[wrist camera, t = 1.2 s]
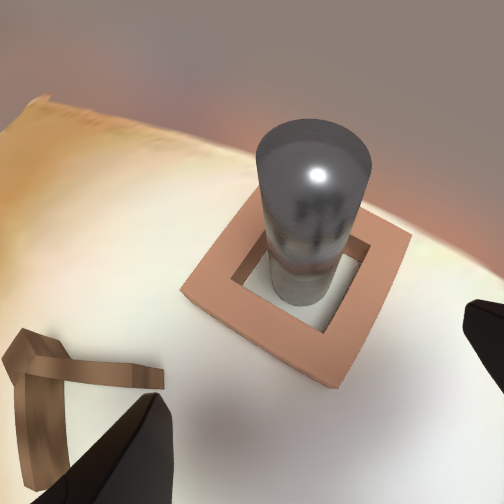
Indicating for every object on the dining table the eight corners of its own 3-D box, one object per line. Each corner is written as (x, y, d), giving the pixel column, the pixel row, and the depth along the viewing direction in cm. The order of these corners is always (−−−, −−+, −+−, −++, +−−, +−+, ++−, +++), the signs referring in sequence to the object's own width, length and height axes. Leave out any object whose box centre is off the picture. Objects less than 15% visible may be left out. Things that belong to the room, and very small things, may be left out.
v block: (173, 379, 20) (143, 376, 15) (67, 487, 16) (31, 496, 11) (98, 293, 23) (65, 272, 19) (13, 403, 19) (-23, 398, 15)
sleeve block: (399, 252, 22) (412, 234, 19) (330, 388, 19) (337, 388, 16) (274, 189, 26) (273, 167, 23) (191, 302, 22) (179, 290, 20)
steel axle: (328, 250, 23) (359, 120, 11) (331, 305, 21) (382, 203, 9) (272, 251, 23) (257, 119, 12) (271, 306, 22) (254, 204, 10)
